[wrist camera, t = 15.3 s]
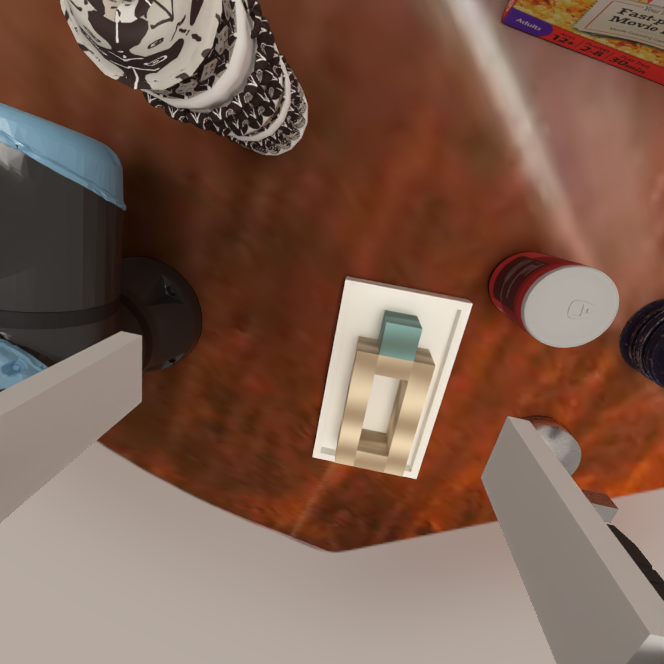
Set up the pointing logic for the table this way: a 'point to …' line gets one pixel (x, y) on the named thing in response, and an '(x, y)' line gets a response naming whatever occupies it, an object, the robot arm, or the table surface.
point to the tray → (365, 320)
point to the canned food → (554, 298)
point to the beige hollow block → (415, 377)
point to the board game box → (599, 30)
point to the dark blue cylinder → (645, 341)
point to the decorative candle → (198, 64)
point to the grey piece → (570, 459)
